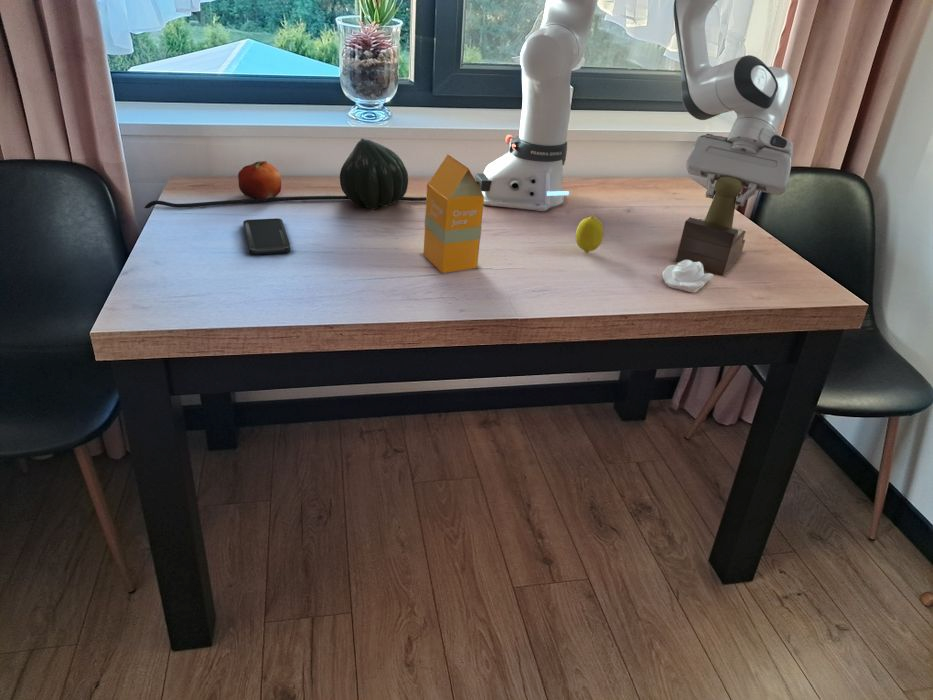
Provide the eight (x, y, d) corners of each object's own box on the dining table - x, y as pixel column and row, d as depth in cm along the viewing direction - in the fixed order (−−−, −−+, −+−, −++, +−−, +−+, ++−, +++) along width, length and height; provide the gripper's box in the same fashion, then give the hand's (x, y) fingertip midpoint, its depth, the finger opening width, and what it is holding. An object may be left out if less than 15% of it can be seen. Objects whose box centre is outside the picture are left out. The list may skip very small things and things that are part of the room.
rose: (725, 274, 139) (675, 272, 138) (719, 295, 141) (670, 293, 140) (707, 252, 148) (659, 250, 147) (701, 272, 150) (655, 270, 149)
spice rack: (696, 240, 165) (706, 201, 160) (741, 252, 160) (753, 213, 156) (675, 261, 153) (685, 221, 149) (722, 275, 149) (734, 234, 145)
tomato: (290, 197, 167) (289, 162, 163) (260, 208, 161) (258, 172, 156) (261, 187, 171) (258, 153, 167) (230, 197, 165) (227, 162, 160)
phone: (248, 250, 139) (242, 219, 151) (249, 255, 140) (243, 224, 152) (291, 247, 142) (282, 218, 154) (291, 252, 142) (282, 223, 154)
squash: (425, 189, 163) (402, 126, 163) (364, 201, 155) (340, 135, 156) (401, 213, 175) (379, 154, 176) (343, 225, 168) (321, 164, 168)
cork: (732, 237, 151) (747, 185, 145) (702, 232, 152) (716, 180, 146) (730, 226, 156) (744, 176, 150) (700, 222, 157) (713, 171, 151)
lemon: (601, 250, 156) (608, 214, 151) (596, 260, 151) (603, 223, 147) (576, 245, 157) (582, 209, 153) (570, 254, 152) (576, 218, 148)
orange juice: (442, 273, 140) (449, 170, 130) (422, 254, 147) (427, 155, 136) (478, 267, 144) (488, 166, 133) (457, 249, 150) (465, 152, 140)
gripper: (699, 123, 154) (673, 180, 151) (801, 144, 145) (775, 205, 143) (700, 140, 159) (675, 195, 157) (798, 162, 151) (774, 220, 148)
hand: (724, 200), depth 150 cm, fingers closed on cork, 5 cm apart
